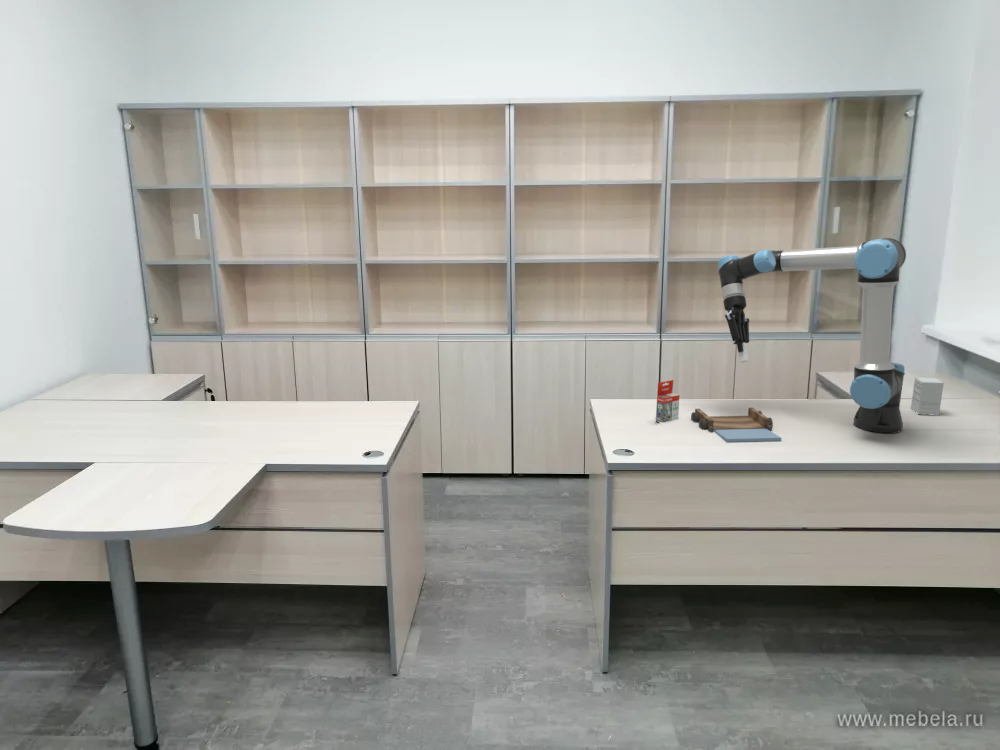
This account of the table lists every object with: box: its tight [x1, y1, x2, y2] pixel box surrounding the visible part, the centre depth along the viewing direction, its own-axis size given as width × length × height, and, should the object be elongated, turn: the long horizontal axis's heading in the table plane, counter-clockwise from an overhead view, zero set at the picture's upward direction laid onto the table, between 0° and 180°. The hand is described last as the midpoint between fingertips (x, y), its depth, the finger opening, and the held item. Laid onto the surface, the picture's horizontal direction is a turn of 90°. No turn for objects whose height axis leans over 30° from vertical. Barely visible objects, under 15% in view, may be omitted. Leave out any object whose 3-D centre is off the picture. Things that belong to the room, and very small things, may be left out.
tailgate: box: [713, 428, 782, 443], centre depth 235 cm, size 1×18×12 cm
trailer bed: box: [690, 407, 774, 433], centre depth 247 cm, size 16×24×4 cm, turn 94°
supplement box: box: [910, 377, 945, 416], centre depth 262 cm, size 7×7×13 cm
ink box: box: [655, 379, 680, 424], centre depth 251 cm, size 4×8×15 cm, turn 123°
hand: (744, 361), depth 249 cm, fingers closed
